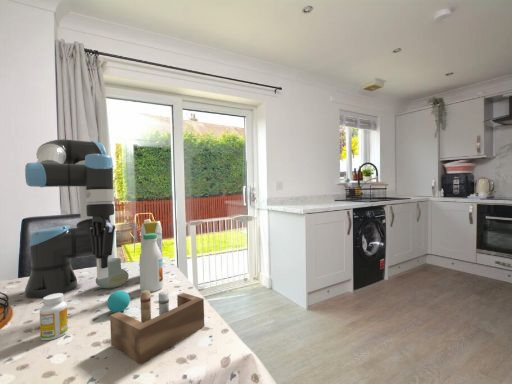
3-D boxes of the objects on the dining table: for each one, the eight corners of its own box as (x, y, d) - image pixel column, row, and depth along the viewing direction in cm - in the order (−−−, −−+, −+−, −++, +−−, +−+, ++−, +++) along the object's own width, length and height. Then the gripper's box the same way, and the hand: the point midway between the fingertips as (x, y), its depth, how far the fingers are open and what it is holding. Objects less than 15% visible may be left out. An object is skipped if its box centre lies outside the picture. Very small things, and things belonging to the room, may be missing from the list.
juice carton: (144, 273, 112) (142, 218, 112) (163, 271, 114) (161, 217, 114) (141, 280, 103) (139, 220, 103) (162, 278, 105) (160, 219, 105)
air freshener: (103, 293, 91) (102, 264, 91) (92, 288, 95) (91, 262, 95) (132, 283, 100) (131, 257, 100) (120, 279, 105) (120, 255, 105)
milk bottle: (155, 293, 89) (153, 235, 89) (135, 292, 91) (133, 235, 91) (167, 285, 97) (165, 232, 97) (148, 284, 98) (147, 232, 98)
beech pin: (139, 324, 68) (138, 292, 68) (147, 320, 70) (146, 289, 70) (144, 327, 66) (143, 294, 66) (153, 323, 68) (152, 291, 68)
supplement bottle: (64, 326, 68) (63, 290, 68) (70, 333, 64) (69, 294, 64) (38, 336, 64) (36, 297, 64) (43, 343, 60) (42, 302, 60)
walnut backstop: (111, 345, 59) (110, 315, 59) (174, 314, 73) (173, 289, 73) (140, 364, 52) (139, 329, 52) (204, 325, 66) (203, 298, 66)
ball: (103, 313, 75) (102, 292, 75) (123, 305, 80) (123, 286, 80) (113, 318, 72) (113, 296, 72) (134, 309, 77) (133, 289, 77)
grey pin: (157, 326, 66) (156, 293, 66) (165, 322, 68) (164, 290, 68) (163, 329, 65) (162, 295, 65) (171, 325, 67) (170, 292, 67)
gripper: (78, 204, 82) (80, 278, 82) (97, 203, 75) (99, 285, 74) (103, 203, 88) (105, 271, 88) (123, 202, 81) (125, 277, 80)
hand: (102, 277), depth 81 cm, fingers closed
